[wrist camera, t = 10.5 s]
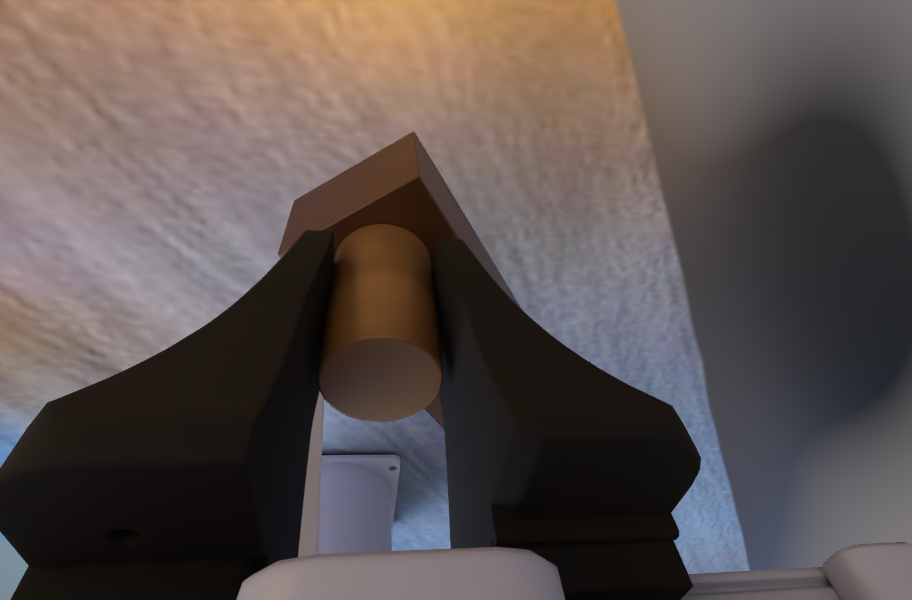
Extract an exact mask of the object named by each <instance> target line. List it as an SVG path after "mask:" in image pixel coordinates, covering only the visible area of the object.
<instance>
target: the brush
mask: <svg viewBox="0 0 912 600" xmlns="http://www.w3.org/2000/svg"><path fill="white" fill-rule="evenodd" d="M306 230H316V231H332V232H334V270H333V277H332V284H331V290H330V296H329V301H328V306H327V312H326V319H325V326H324V332H323V339H322V346H321V353H320V360H319V366H318V373H317V383H318V387H319V390H320V392H321V394H322V396H323V398H324V399H325V400H326V402H327V403H328V404H329V405H330V406H332V407H333V408H334V409H336V410H337V411H339V412H340V413H342V414H344V415H347V416H349V417H352V418H355V419H359V420H364V421H373V422H386V421H394V420H399V419H403V418H406V417H409V416H412V415H414V414H416V413H418V412H420V411H422V410H423V409H425V410H426V411H427V412H428V413H429V414H430V415H431V416H432V417H433V418H434V419H435V420H436V421H437V422H438V423H439V425H440V426H441V427H442V428H443V429H444V423H443V415H442V409H441V403H440V397H439V392H440V390H441V388H442V385H443V380H444V372H443V363H442V354H441V346H440V337H439V329H438V320H437V311H436V303H435V294H434V286H433V277H432V272H433V264H434V256H435V249H436V241H437V238H448V239H462V240H463V241H464V242H465V243H466V245H467V246H468V247H469V249H470V250H471V251H472V253H473V254H474V255H475V257H476V258H477V259H478V260H479V262H480V263H481V264H482V266H483V267H484V268H485V269H486V271H487V272H488V273H489V274H490V276H491V277H492V278H493V279H494V280H495V282H496V283H497V284H498V285H499V286H500V287H501V289H502V290H503V291H504V292H505V293H506V294H507V295H508V296H509V297H510V298H511V299H512V300H513V301H514V302H515V303H516V304H517V305H518V306H519V307H520V305H519V304H518V302H517V300H516V299H515V297H514V295H513V294H512V292H511V290H510V289H509V287H508V285H507V284H506V282H505V281H504V279H503V277H502V276H501V274H500V272H499V271H498V269H497V267H496V266H495V264H494V262H493V261H492V259H491V257H490V256H489V254H488V252H487V251H486V249H485V247H484V246H483V244H482V242H481V241H480V239H479V238H478V236H477V234H476V233H475V231H474V229H473V228H472V226H471V224H470V223H469V221H468V219H467V218H466V216H465V214H464V213H463V211H462V209H461V208H460V206H459V204H458V203H457V201H456V199H455V198H454V196H453V195H452V193H451V191H450V190H449V188H448V186H447V185H446V183H445V181H444V180H443V178H442V176H441V175H440V173H439V171H438V170H437V168H436V166H435V165H434V163H433V161H432V160H431V158H430V156H429V155H428V153H427V152H426V150H425V148H424V147H423V145H422V143H421V142H420V140H419V138H418V137H417V135H416V133H415V132H412V133H410V134H408V135H406V136H405V137H403V138H401V139H399V140H398V141H396V142H394V143H393V144H391V145H389V146H387V147H386V148H384V149H382V150H381V151H379V152H377V153H375V154H374V155H372V156H370V157H368V158H367V159H365V160H363V161H362V162H360V163H358V164H356V165H355V166H353V167H351V168H350V169H348V170H346V171H344V172H343V173H341V174H339V175H338V176H336V177H334V178H332V179H331V180H329V181H327V182H325V183H324V184H322V185H320V186H319V187H317V188H315V189H313V190H312V191H310V192H308V193H307V194H305V195H303V196H301V197H300V198H298V199H296V200H295V201H294V203H293V206H292V210H291V213H290V216H289V219H288V223H287V226H286V229H285V232H284V236H283V239H282V242H281V246H280V249H279V252H278V255H279V256H280V257H281V258H282V257H283V256H284V255H285V253H286V252H287V251H288V250H289V249H290V248H291V246H292V245H293V244H294V243H295V242H296V240H297V239H298V238H299V237H300V235H301V234H302V233H303V232H305V231H306ZM520 308H521V307H520Z"/></svg>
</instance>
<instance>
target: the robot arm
mask: <svg viewBox="0 0 912 600" xmlns="http://www.w3.org/2000/svg"><path fill="white" fill-rule="evenodd" d="M333 270H334V232H332V231H316V230H306V231H305V232H303V233H302V234H301V235H300V237H299V238H298V239H297V240H296V242H295V243H294V244H293V245H292V246H291V248H290V249H289V250H288V251H287V252H286V253H285V255H284V256H283V257H282V258H281V259H280V260H279V261H278V262H277V263H276V264H275V265H274V267H273V268H272V269H271V270H270V271H269V272H268V273H267V274H266V275H265V276H264V277H263V278H262V279H261V280H260V281H259V282H258V283H257V284H256V285H254V286H253V287H252V288H251V289H250V290H249V291H248V292H247V293H246V294H245V295H244V296H242V297H241V298H240V299H239V300H238V301H237V302H236V303H234V304H233V305H232V306H231V307H229V308H228V309H227V310H226V311H224V312H223V313H222V314H220V315H219V316H218V317H216V318H215V319H214V320H212V321H211V322H210V323H208V324H207V325H205V326H204V327H202V328H200V329H199V330H197V331H195V332H194V333H192V334H191V335H189V336H187V337H186V338H184V339H182V340H181V341H179V342H178V343H176V344H174V345H173V346H171V347H169V348H168V349H166V350H164V351H162V352H160V353H158V354H156V355H155V356H153V357H151V358H149V359H147V360H145V361H143V362H141V363H139V364H137V365H135V366H133V367H131V368H129V369H127V370H125V371H123V372H120V373H118V374H116V375H114V376H112V377H109V378H107V379H105V380H102V381H100V382H97V383H95V384H93V385H90V386H88V387H85V388H83V389H80V390H78V391H76V392H73V393H71V394H68V395H66V396H63V397H61V398H58V399H56V400H53V401H50V402H48V403H47V404H46V405H45V406H44V408H43V409H42V410H41V411H40V413H39V414H38V415H37V416H36V418H35V419H34V420H33V421H32V423H31V424H30V425H29V426H28V428H27V429H26V431H25V432H24V434H23V435H22V437H21V438H20V440H19V441H18V443H17V444H16V446H15V447H14V449H13V450H12V452H11V453H10V455H9V456H8V458H7V459H6V461H5V462H4V464H3V465H2V467H1V468H0V531H1V533H2V534H3V535H4V536H5V538H6V539H7V540H8V541H9V542H10V544H11V545H12V546H13V547H14V548H15V550H16V551H17V552H18V553H19V554H20V556H21V557H22V558H23V559H24V560H25V562H26V563H27V564H28V565H29V566H28V568H27V570H26V572H25V574H24V576H23V577H22V579H21V581H20V583H19V585H18V587H17V589H16V591H15V592H14V594H13V596H12V598H11V600H912V545H911V544H908V543H905V542H896V543H874V544H858V545H853V546H849V547H847V548H843V549H841V550H839V551H838V552H836V553H835V554H833V555H832V556H830V557H829V558H828V559H827V560H826V561H825V562H824V563H823V565H822V567H817V568H816V567H815V568H798V569H780V570H760V571H741V572H723V573H704V574H688V573H687V570H686V568H685V566H684V564H683V561H682V559H681V557H680V555H679V552H678V550H677V548H676V545H675V543H674V541H673V540H676V539H677V538H678V537H679V529H678V527H677V525H676V523H675V521H674V519H673V516H672V514H671V512H672V511H673V510H674V508H675V507H676V506H677V504H678V503H679V502H680V500H681V499H682V498H683V496H684V495H685V493H686V492H687V491H688V489H689V488H690V487H691V485H692V484H693V482H694V480H695V478H696V476H697V474H698V472H699V470H700V462H701V457H700V455H699V453H698V451H697V448H696V446H695V445H694V443H693V441H692V439H691V437H690V435H689V433H688V432H687V430H686V428H685V426H684V424H683V423H682V421H681V419H680V418H679V416H678V414H677V413H676V411H675V410H674V408H673V407H672V406H671V405H669V404H667V403H665V402H663V401H661V400H659V399H657V398H655V397H653V396H650V395H648V394H646V393H644V392H642V391H640V390H638V389H636V388H634V387H632V386H630V385H628V384H626V383H624V382H622V381H620V380H619V379H617V378H615V377H613V376H612V375H610V374H608V373H606V372H605V371H603V370H601V369H599V368H598V367H596V366H595V365H593V364H591V363H590V362H588V361H587V360H585V359H583V358H582V357H581V356H579V355H578V354H576V353H575V352H573V351H572V350H570V349H569V348H568V347H566V346H565V345H563V344H562V343H561V342H559V341H558V340H557V339H555V338H554V337H553V336H551V335H550V334H549V333H548V332H547V331H545V330H544V329H543V328H542V327H541V326H539V325H538V324H537V323H536V322H535V321H533V320H532V319H531V318H530V317H529V316H528V315H527V314H526V313H525V312H524V311H523V310H522V309H521V308H520V307H519V306H518V305H517V304H516V303H515V302H514V301H513V300H512V299H511V298H510V297H509V296H508V295H507V294H506V293H505V292H504V291H503V290H502V289H501V287H500V286H499V285H498V284H497V283H496V282H495V280H494V279H493V278H492V277H491V276H490V274H489V273H488V272H487V271H486V269H485V268H484V267H483V266H482V264H481V263H480V262H479V260H478V259H477V258H476V257H475V255H474V254H473V253H472V251H471V250H470V249H469V247H468V246H467V245H466V243H465V242H464V241H463V240H462V239H448V238H437V241H436V249H435V256H434V264H433V272H432V277H433V286H434V294H435V303H436V311H437V320H438V329H439V337H440V346H441V354H442V363H443V372H444V380H443V385H442V388H441V390H440V392H439V397H440V403H441V409H442V415H443V423H444V431H445V445H446V461H447V478H448V497H449V518H450V542H451V549H433V550H409V551H392V529H393V521H394V513H395V505H396V497H397V489H398V481H399V473H400V465H401V459H400V457H399V456H397V455H322V466H321V491H320V517H319V543H318V554H316V555H310V556H304V557H298V552H299V542H300V532H301V521H302V511H303V502H304V492H305V483H306V474H307V465H308V456H309V447H310V438H311V430H312V425H313V419H314V414H315V409H316V405H317V400H318V396H319V391H320V390H319V387H318V383H317V373H318V366H319V360H320V353H321V346H322V339H323V332H324V326H325V319H326V312H327V306H328V301H329V296H330V290H331V284H332V277H333Z"/></svg>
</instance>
